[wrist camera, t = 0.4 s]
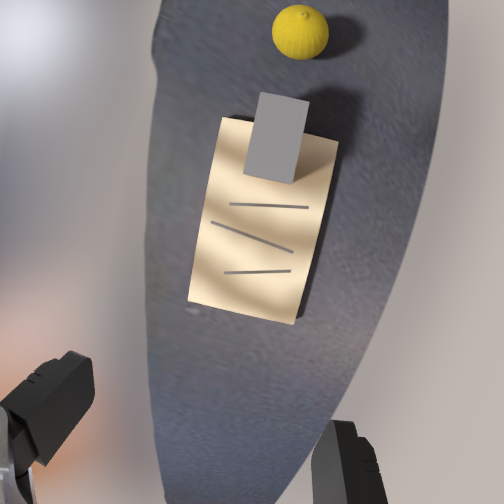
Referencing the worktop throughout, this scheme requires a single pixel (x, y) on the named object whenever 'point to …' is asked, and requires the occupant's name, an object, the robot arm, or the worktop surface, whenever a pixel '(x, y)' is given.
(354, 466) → the robot arm
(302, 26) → the lemon
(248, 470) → the worktop surface
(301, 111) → the block
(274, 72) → the worktop surface
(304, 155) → the board
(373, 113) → the worktop surface
